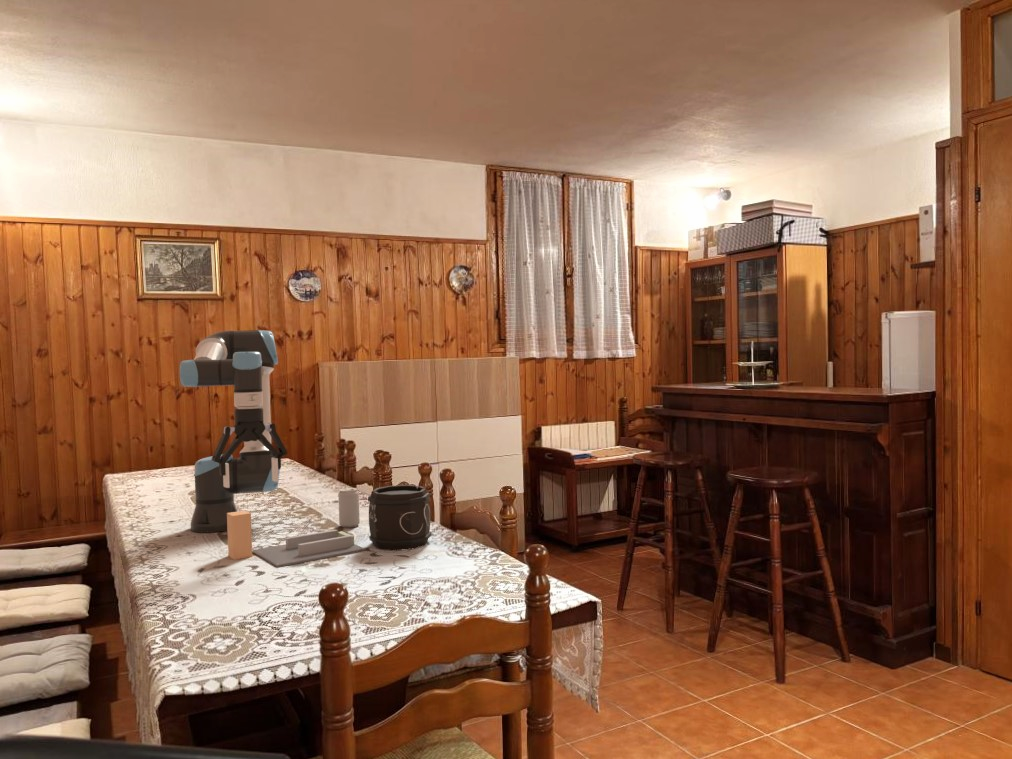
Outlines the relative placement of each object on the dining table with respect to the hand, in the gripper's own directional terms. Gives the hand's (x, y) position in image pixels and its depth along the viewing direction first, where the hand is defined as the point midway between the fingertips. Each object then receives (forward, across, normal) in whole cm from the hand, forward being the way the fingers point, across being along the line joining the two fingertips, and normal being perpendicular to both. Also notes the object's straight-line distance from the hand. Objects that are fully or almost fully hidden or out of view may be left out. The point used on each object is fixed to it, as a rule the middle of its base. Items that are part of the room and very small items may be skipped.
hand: (251, 484), depth 209 cm
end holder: (+20, +13, -7) cm, 25 cm away
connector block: (+20, -3, +1) cm, 20 cm away
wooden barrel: (+20, +37, -17) cm, 46 cm away
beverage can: (+20, +36, +14) cm, 44 cm away
